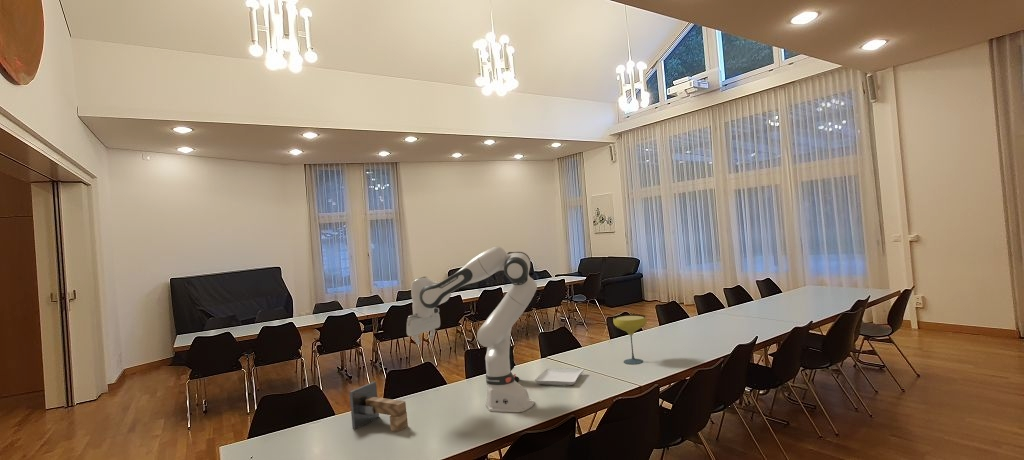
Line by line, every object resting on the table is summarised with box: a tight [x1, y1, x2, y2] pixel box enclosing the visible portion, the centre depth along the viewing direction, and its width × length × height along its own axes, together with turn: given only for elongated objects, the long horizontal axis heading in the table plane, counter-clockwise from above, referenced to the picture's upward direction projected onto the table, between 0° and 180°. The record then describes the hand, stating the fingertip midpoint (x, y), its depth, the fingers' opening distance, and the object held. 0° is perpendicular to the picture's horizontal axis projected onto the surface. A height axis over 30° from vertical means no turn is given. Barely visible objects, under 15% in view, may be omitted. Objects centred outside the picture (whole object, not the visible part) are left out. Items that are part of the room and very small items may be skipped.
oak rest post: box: [389, 411, 409, 433], centre depth 202 cm, size 4×6×6 cm, turn 150°
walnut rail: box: [366, 396, 407, 417], centre depth 206 cm, size 20×4×5 cm, turn 58°
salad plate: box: [534, 368, 585, 386], centre depth 248 cm, size 21×21×3 cm
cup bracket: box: [349, 381, 380, 430], centre depth 210 cm, size 10×14×16 cm
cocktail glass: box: [612, 313, 647, 365], centre depth 269 cm, size 18×18×25 cm
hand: (425, 341), depth 224 cm, fingers open, 8 cm apart
